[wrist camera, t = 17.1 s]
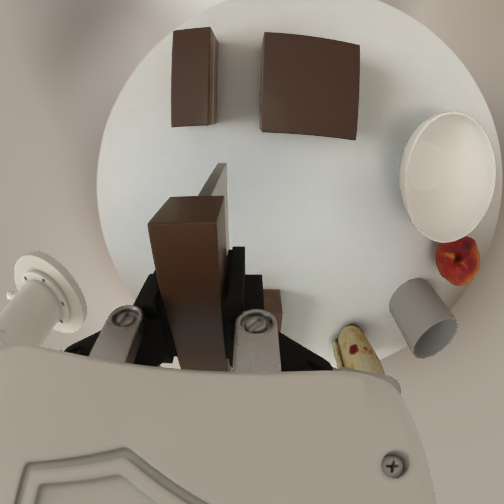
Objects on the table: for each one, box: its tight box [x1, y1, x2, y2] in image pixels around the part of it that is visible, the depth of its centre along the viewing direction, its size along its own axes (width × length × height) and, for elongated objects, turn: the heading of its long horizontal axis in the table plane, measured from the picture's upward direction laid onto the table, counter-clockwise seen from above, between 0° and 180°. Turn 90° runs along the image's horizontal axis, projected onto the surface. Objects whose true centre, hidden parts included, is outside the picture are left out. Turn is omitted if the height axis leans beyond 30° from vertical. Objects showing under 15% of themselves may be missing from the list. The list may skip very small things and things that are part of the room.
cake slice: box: [171, 27, 218, 127], centre depth 23 cm, size 4×10×6 cm, turn 179°
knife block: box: [263, 290, 283, 332], centre depth 39 cm, size 6×13×5 cm, turn 179°
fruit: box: [436, 236, 480, 286], centre depth 32 cm, size 8×8×8 cm
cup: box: [390, 278, 458, 359], centre depth 35 cm, size 8×8×10 cm
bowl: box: [399, 111, 496, 243], centre depth 26 cm, size 16×16×7 cm
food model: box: [332, 325, 385, 375], centre depth 35 cm, size 10×7×20 cm
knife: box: [148, 163, 232, 372], centre depth 14 cm, size 2×8×12 cm, turn 0°
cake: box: [260, 32, 360, 140], centre depth 23 cm, size 9×10×6 cm
